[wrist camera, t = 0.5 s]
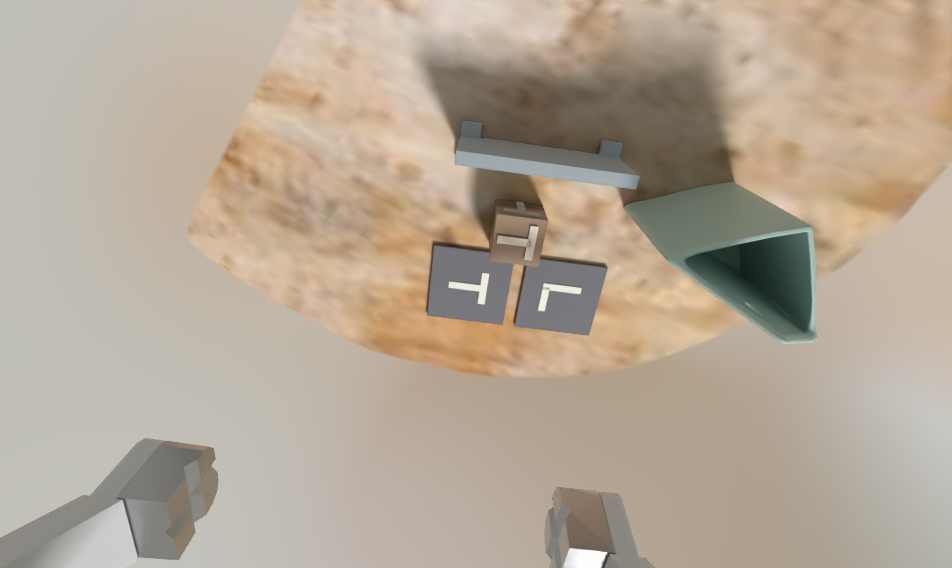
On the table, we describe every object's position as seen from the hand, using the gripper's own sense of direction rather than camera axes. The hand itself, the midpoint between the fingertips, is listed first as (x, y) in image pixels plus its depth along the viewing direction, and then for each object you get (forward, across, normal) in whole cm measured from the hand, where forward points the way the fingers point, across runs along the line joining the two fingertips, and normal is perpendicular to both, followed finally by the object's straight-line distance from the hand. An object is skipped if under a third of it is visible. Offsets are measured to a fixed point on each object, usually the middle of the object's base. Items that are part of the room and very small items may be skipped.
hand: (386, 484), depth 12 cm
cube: (+42, -7, +7) cm, 43 cm away
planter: (+42, -27, +3) cm, 50 cm away
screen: (+41, -8, -1) cm, 42 cm away
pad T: (+42, -3, +15) cm, 44 cm away
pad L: (+42, -13, +15) cm, 46 cm away
